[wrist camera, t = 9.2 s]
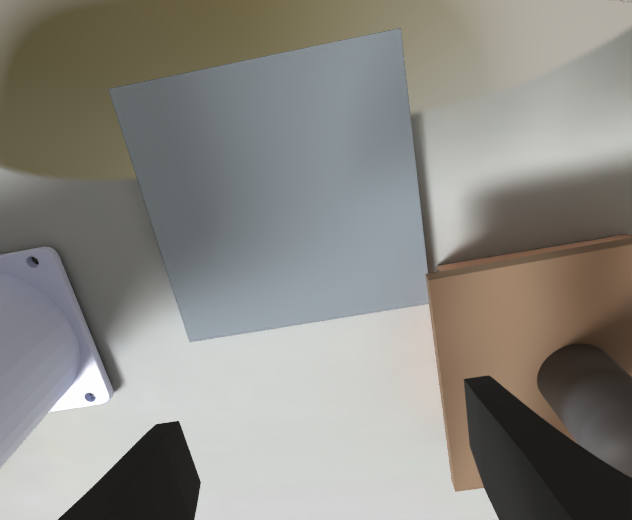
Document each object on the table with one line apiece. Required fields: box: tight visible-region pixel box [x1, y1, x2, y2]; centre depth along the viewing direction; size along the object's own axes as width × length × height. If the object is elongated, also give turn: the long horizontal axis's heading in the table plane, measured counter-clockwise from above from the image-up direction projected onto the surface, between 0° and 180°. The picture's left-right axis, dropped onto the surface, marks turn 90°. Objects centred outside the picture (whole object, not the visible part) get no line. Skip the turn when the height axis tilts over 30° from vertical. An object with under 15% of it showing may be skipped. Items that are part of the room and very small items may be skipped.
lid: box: [425, 237, 632, 492], centre depth 16 cm, size 10×10×5 cm
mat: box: [108, 28, 429, 342], centre depth 19 cm, size 11×11×1 cm
